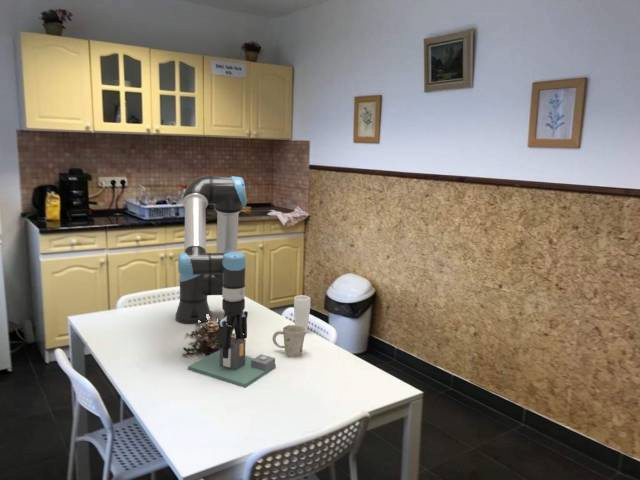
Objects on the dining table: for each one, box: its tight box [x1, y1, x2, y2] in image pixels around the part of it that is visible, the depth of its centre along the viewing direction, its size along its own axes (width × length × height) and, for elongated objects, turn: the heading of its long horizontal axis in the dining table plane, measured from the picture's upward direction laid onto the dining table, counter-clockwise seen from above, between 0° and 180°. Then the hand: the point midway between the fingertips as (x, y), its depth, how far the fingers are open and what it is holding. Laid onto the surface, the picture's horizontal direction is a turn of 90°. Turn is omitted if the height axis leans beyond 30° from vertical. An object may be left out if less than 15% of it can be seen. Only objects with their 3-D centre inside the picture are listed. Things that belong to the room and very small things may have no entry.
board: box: [187, 349, 277, 388], centre depth 178 cm, size 24×18×4 cm
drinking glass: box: [293, 294, 311, 334], centre depth 215 cm, size 7×7×15 cm
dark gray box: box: [219, 336, 247, 370], centre depth 177 cm, size 7×6×9 cm
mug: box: [271, 324, 306, 358], centre depth 193 cm, size 8×13×10 cm, turn 78°
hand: (232, 362), depth 178 cm, fingers closed on dark gray box, 6 cm apart
